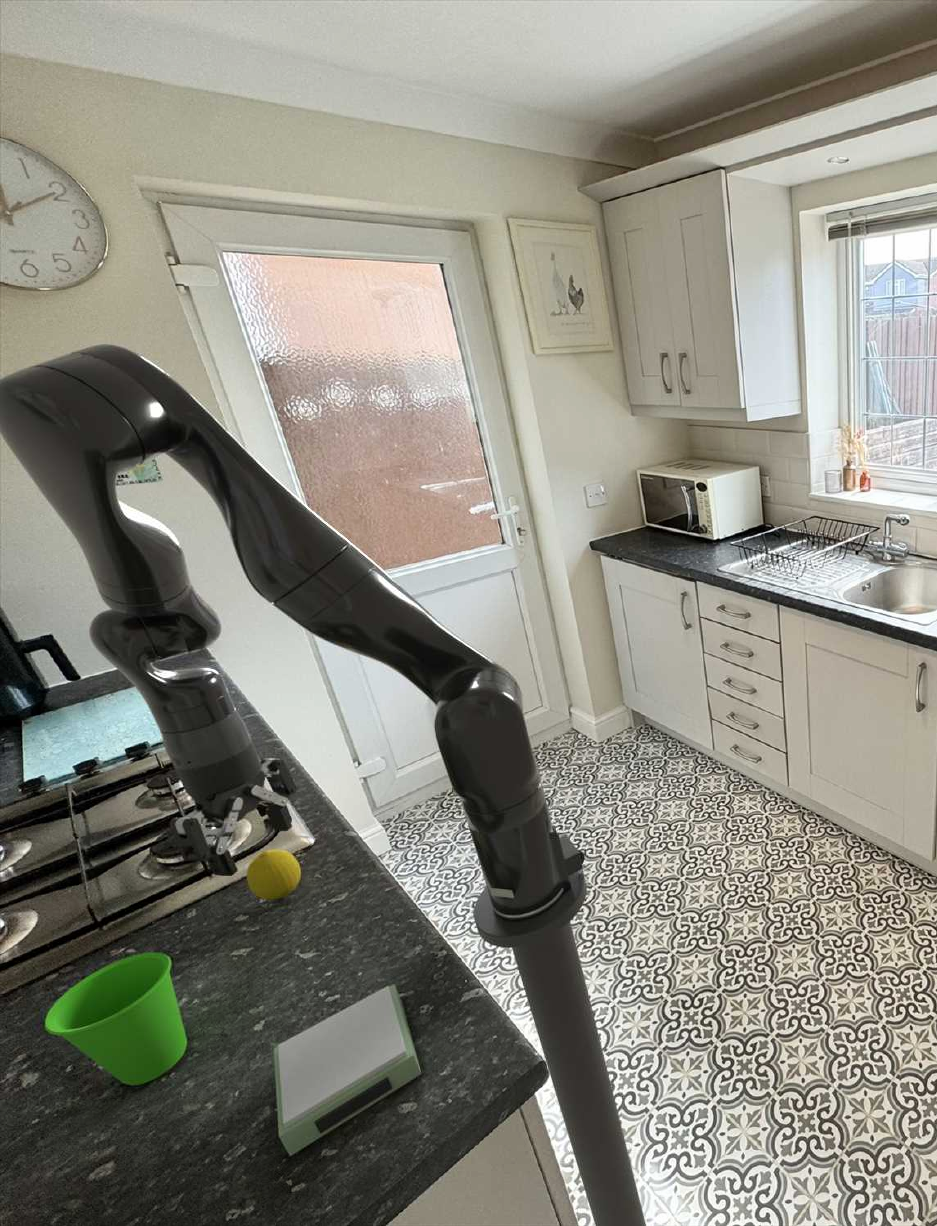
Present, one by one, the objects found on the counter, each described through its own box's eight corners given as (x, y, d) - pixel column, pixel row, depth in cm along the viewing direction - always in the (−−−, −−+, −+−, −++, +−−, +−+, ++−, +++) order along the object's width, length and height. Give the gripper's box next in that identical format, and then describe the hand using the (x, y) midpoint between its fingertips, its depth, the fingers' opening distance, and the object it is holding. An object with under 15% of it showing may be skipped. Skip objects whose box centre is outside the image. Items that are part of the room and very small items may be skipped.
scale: (401, 1001, 74) (392, 979, 73) (422, 1075, 66) (412, 1052, 65) (283, 1067, 68) (271, 1044, 66) (290, 1158, 60) (276, 1135, 58)
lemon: (270, 918, 87) (248, 872, 84) (252, 903, 89) (230, 858, 86) (316, 890, 91) (296, 845, 88) (297, 876, 94) (278, 833, 91)
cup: (213, 1060, 69) (171, 988, 65) (92, 1127, 63) (37, 1053, 59) (209, 1005, 75) (170, 936, 71) (98, 1062, 69) (49, 991, 65)
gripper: (184, 784, 74) (235, 891, 80) (287, 720, 87) (324, 816, 93) (124, 783, 74) (180, 890, 80) (235, 719, 87) (276, 815, 93)
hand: (257, 850), depth 86 cm, fingers open, 8 cm apart
